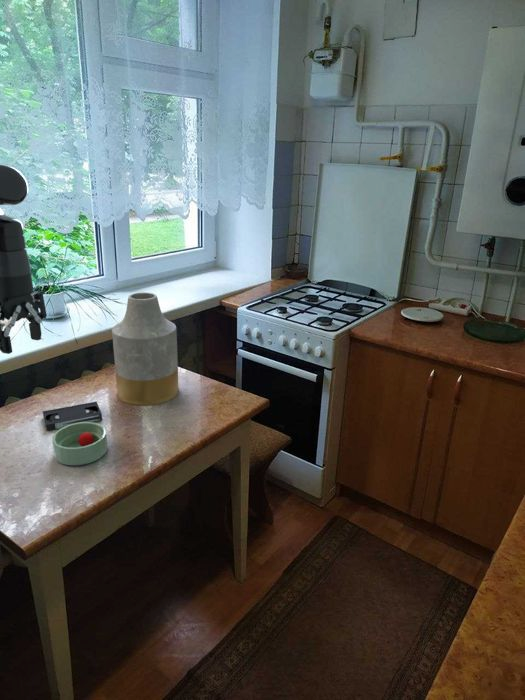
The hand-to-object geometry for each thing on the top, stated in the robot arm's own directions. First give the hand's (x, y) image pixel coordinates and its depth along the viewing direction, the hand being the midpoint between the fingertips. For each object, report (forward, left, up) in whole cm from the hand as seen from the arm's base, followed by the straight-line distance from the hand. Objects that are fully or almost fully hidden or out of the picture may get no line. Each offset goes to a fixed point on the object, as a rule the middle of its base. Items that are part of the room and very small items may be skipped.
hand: (22, 346), depth 106 cm
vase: (+42, -5, -30) cm, 51 cm away
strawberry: (+7, -6, -27) cm, 29 cm away
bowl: (+7, -6, -30) cm, 31 cm away
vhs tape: (+20, +6, -30) cm, 36 cm away
